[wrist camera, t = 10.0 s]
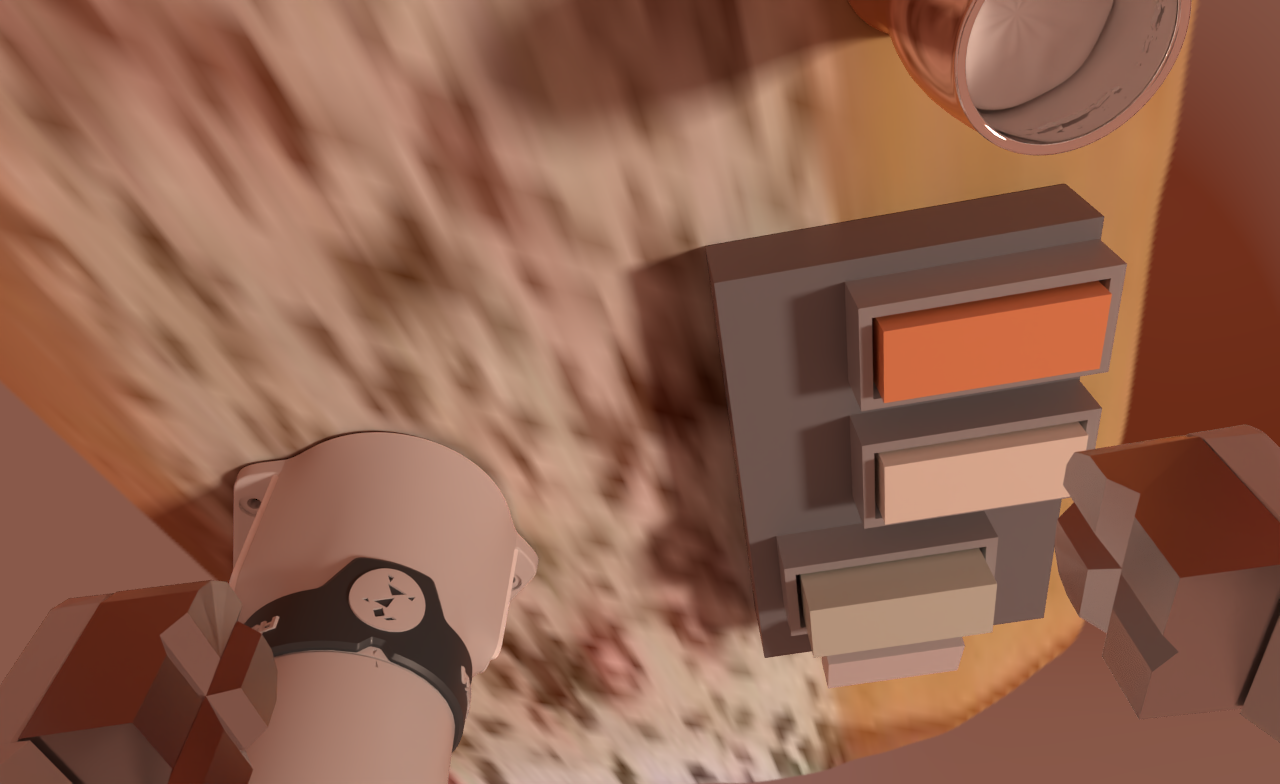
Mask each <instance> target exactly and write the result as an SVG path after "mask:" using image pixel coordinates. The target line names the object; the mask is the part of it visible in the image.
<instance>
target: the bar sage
mask: <svg viewBox="0 0 1280 784" xmlns="http://www.w3.org/2000/svg"><path fill="white" fill-rule="evenodd" d="M800 585H801V596H802V607H803V617H804V621H805V625H806V629H807V633H808V637H809V641H810V645H811V649H812V653H813V656H814V658H816V657H823V656H830V655H837V654H844V653H851V652H858V651H865V650H872V649H879V648H886V647H893V646H900V645H907V644H914V643H921V642H928V641H935V640H942V639H949V638H956V637H963V636H970V635H977V634H984V633H991V632H992V631H993V621H994V611H995V601H996V591H997V582H996V580H995V578H994V576H993V574H992V572H991V570H990V568H989V566H988V564H987V562H986V560H985V558H984V557H983V555H982V553H981V551H980V549H979V548H973V549H967V550H960V551H953V552H946V553H940V554H933V555H926V556H920V557H913V558H906V559H900V560H893V561H886V562H879V563H873V564H866V565H859V566H853V567H846V568H839V569H833V570H826V571H819V572H812V573H806V574H800Z"/></svg>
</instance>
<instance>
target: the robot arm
mask: <svg viewBox="0 0 1280 784" xmlns="http://www.w3.org/2000/svg"><path fill="white" fill-rule="evenodd" d="M1063 486H1064V487H1065V489H1066V490H1067V492H1068V493H1069V495H1070V496H1071V498H1072V500H1073V501H1074V503H1073V504H1072V505H1071V506H1070V507H1069V508H1068V509H1067V510H1066V511H1065V512H1064V513H1063V514H1062V515H1061V516H1060V517H1059V518H1058V519H1057V526H1056V535H1055V544H1054V547H1055V553H1056V559H1057V566H1058V572H1059V575H1060V578H1061V581H1062V583H1063V586H1064V588H1065V591H1066V594H1067V596H1068V598H1069V599H1070V601H1071V603H1072V605H1073V607H1074V608H1075V610H1076V612H1077V614H1078V616H1079V617H1081V618H1082V619H1084V620H1086V621H1087V622H1089V623H1091V624H1092V625H1094V626H1096V627H1097V628H1099V629H1101V630H1102V631H1104V632H1105V633H1107V635H1106V640H1105V644H1104V649H1103V654H1102V657H1103V659H1104V660H1105V662H1106V664H1107V666H1108V667H1109V669H1110V671H1111V672H1112V674H1113V676H1114V677H1115V679H1116V681H1117V682H1118V684H1119V686H1120V688H1121V689H1122V691H1123V693H1124V694H1125V696H1126V698H1127V699H1128V701H1129V703H1130V705H1131V706H1132V708H1133V710H1134V711H1135V713H1136V715H1137V717H1138V718H1139V719H1147V718H1157V717H1167V716H1176V715H1186V714H1196V713H1206V712H1215V711H1225V710H1235V709H1242V710H1241V713H1240V714H1241V715H1242V716H1243V717H1245V718H1246V719H1248V720H1249V721H1250V722H1252V723H1253V724H1255V725H1256V726H1257V727H1259V728H1260V729H1261V730H1263V731H1264V732H1266V733H1267V734H1268V735H1270V736H1272V737H1273V738H1274V739H1275V740H1277V741H1278V742H1279V743H1280V448H1279V447H1278V446H1277V445H1276V444H1275V443H1274V442H1273V441H1272V440H1271V439H1270V438H1269V437H1268V436H1267V435H1266V434H1265V433H1264V432H1262V431H1261V430H1258V429H1256V428H1254V427H1251V426H1248V425H1240V426H1234V427H1228V428H1222V429H1216V430H1209V431H1204V432H1197V433H1191V434H1188V435H1186V436H1175V437H1168V438H1162V439H1156V440H1149V441H1143V442H1136V443H1130V444H1123V445H1117V446H1111V447H1104V448H1098V449H1091V450H1085V451H1079V452H1074V454H1073V455H1072V457H1071V458H1070V460H1069V461H1068V463H1067V465H1066V470H1065V476H1064V482H1063ZM253 498H255V499H258V500H260V501H257V500H255V499H253ZM537 566H538V557H537V554H536V553H535V551H534V550H533V549H532V548H531V546H530V545H529V544H528V543H527V542H526V541H525V540H524V539H523V538H522V537H521V536H520V535H519V534H518V533H517V531H516V529H515V527H514V524H513V521H512V518H511V514H510V511H509V508H508V505H507V502H506V500H505V498H504V496H503V495H502V493H501V491H500V490H499V488H498V487H497V485H496V484H495V483H494V481H493V480H492V479H491V478H490V477H489V476H488V475H487V474H486V473H485V472H484V471H483V470H482V469H481V468H480V467H478V466H477V465H476V464H475V463H473V462H472V461H470V460H469V459H467V458H466V457H464V456H463V455H461V454H459V453H458V452H456V451H454V450H452V449H450V448H448V447H445V446H443V445H441V444H438V443H435V442H433V441H429V440H426V439H423V438H419V437H415V436H410V435H405V434H397V433H386V432H369V433H357V434H351V435H346V436H341V437H337V438H334V439H331V440H328V441H325V442H322V443H320V444H318V445H316V446H314V447H312V448H310V449H308V450H307V451H305V452H303V453H301V454H299V455H297V456H295V457H293V458H290V459H287V460H279V461H270V462H263V463H257V464H252V465H249V466H246V467H244V468H242V469H241V470H240V471H239V473H238V475H237V478H236V481H235V484H234V506H233V572H232V574H231V577H230V581H229V584H228V583H227V582H223V581H215V580H208V581H200V582H192V583H183V584H175V585H167V586H159V587H151V588H143V589H135V590H126V591H119V592H116V593H112V594H103V595H95V596H86V597H77V598H69V599H67V600H66V601H64V602H62V603H61V604H59V605H58V606H56V607H54V608H53V609H51V610H50V612H49V613H48V615H47V616H46V618H45V619H44V621H43V622H42V624H41V625H40V627H39V628H38V630H37V631H36V633H35V634H34V636H33V637H32V639H31V640H30V641H29V643H28V645H27V646H26V647H25V649H24V650H23V652H22V653H21V655H20V656H19V658H18V659H17V661H16V663H15V664H14V666H13V667H12V668H11V670H10V672H9V673H8V674H7V676H6V677H5V679H4V681H3V682H2V683H1V685H0V784H448V776H449V769H450V762H451V755H452V752H453V751H454V750H455V749H456V747H457V746H458V744H459V742H460V740H461V737H462V734H463V729H464V724H465V719H467V717H468V713H469V708H470V702H471V681H472V677H474V676H475V675H476V674H478V673H483V672H484V671H485V670H486V668H487V666H488V664H489V662H490V660H491V659H495V658H497V657H498V655H499V652H500V650H501V646H502V641H503V636H504V630H505V625H506V619H507V613H508V608H509V602H510V601H511V600H512V599H513V598H514V597H515V596H516V595H517V594H518V593H519V592H520V591H521V590H522V589H523V588H524V587H525V586H526V585H527V584H528V583H529V582H530V581H531V580H532V579H533V578H534V576H535V574H536V571H537Z"/></svg>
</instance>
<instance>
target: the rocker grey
mask: <svg viewBox="0 0 1280 784" xmlns="http://www.w3.org/2000/svg"><path fill="white" fill-rule="evenodd" d="M964 647H965V645H964V642H963V639H962V637H956V638H949V639H942V640H935V641H928V642H921V643H914V644H907V645H900V646H893V647H886V648H879V649H872V650H865V651H858V652H851V653H844V654H837V655H830V656H823V657H822V664H823V669H824V673H825V677H826V682H827V686H828V688H834V687H841V686H848V685H855V684H862V683H870V682H877V681H884V680H891V679H898V678H905V677H912V676H919V675H926V674H933V673H941V672H948V671H955V670H957V669H958V666H959V663H960V660H961V657H962V653H963V650H964Z"/></svg>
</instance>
